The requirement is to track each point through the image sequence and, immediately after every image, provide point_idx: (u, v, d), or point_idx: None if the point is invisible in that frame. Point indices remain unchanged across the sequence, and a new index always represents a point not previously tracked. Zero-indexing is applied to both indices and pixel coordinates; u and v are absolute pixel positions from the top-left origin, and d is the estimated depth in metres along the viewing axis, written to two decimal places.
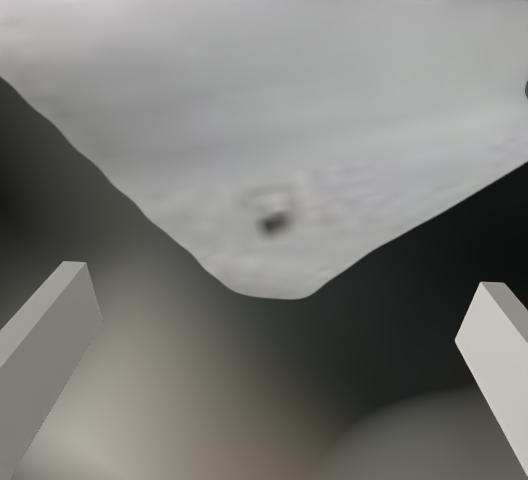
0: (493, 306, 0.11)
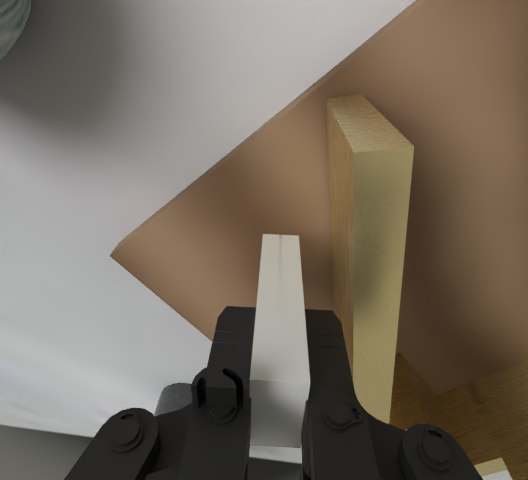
0: (278, 252, 0.13)
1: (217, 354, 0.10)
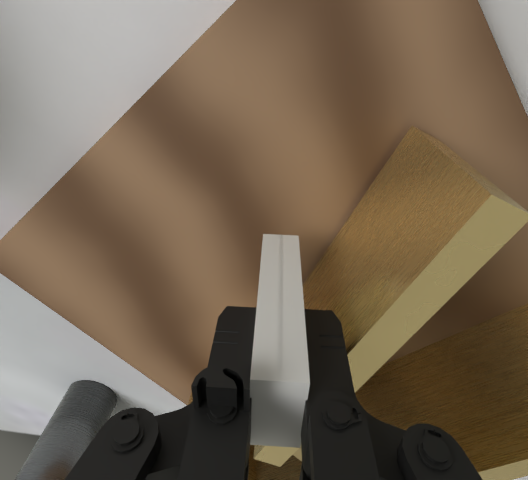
0: (278, 252, 0.13)
1: (217, 354, 0.10)
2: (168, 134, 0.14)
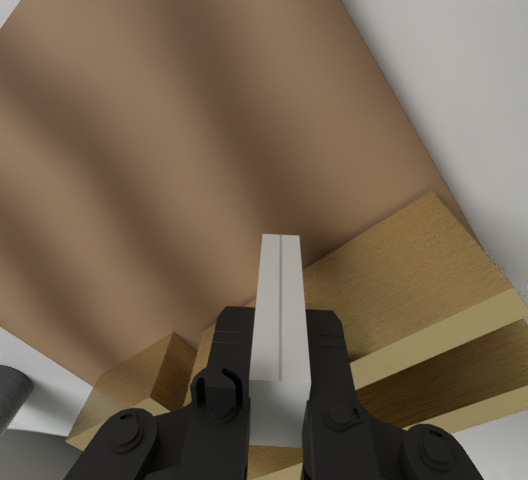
0: (279, 252, 0.13)
1: (216, 354, 0.10)
2: (19, 94, 0.13)
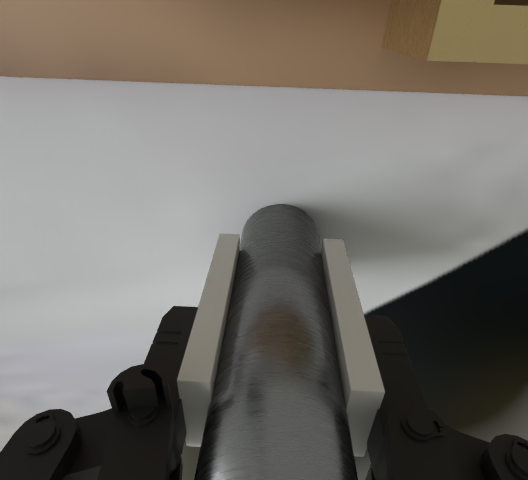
0: (325, 256, 0.13)
1: (155, 354, 0.09)
2: None
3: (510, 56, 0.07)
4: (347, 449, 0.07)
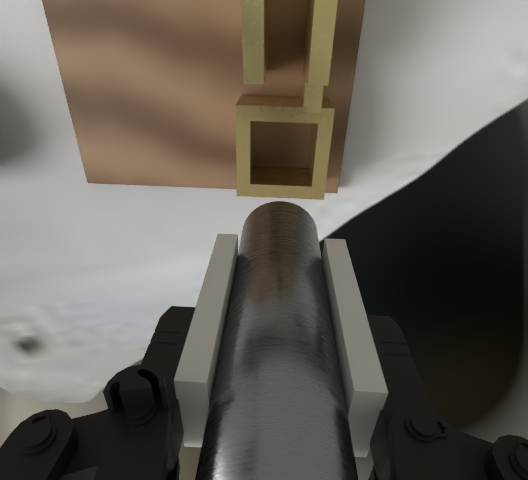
0: (326, 256, 0.13)
1: (152, 355, 0.09)
2: (69, 23, 0.25)
3: (258, 195, 0.27)
4: (344, 428, 0.08)
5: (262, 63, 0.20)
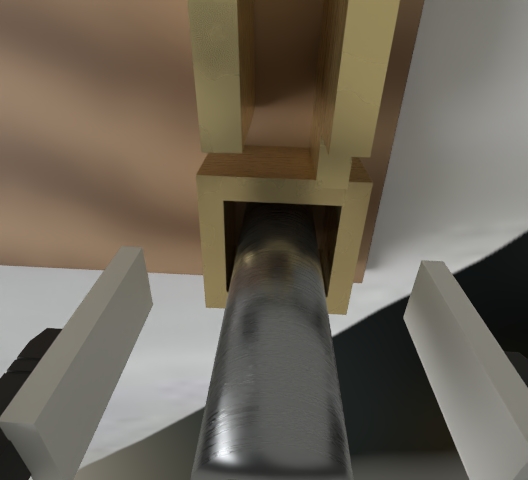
0: (429, 281, 0.12)
1: (2, 386, 0.09)
2: None
3: None
4: (328, 340, 0.10)
5: (237, 114, 0.10)
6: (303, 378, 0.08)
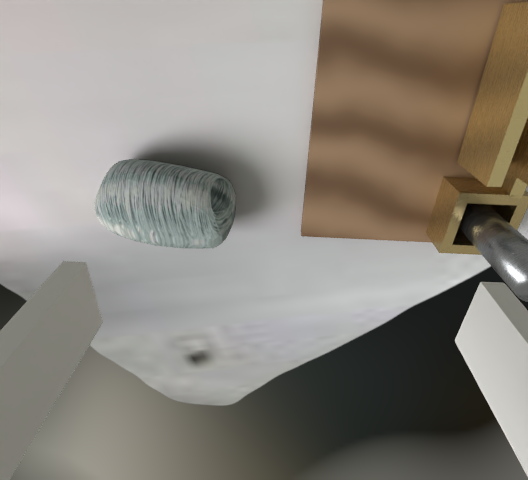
0: (493, 306, 0.11)
1: None
2: (328, 128, 0.34)
3: (456, 252, 0.36)
4: None
5: (505, 174, 0.29)
6: None
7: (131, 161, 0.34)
